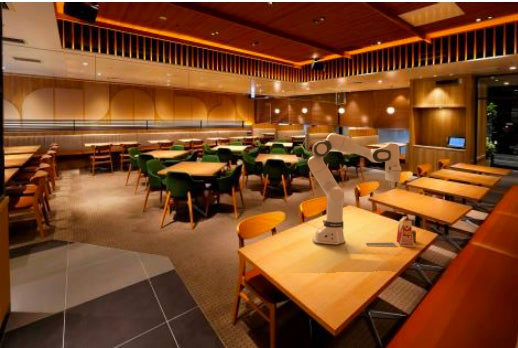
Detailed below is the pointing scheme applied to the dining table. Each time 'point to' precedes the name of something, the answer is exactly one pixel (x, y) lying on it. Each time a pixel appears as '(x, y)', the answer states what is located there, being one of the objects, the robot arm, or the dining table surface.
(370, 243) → the strip
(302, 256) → the dining table surface
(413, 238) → the walnut block
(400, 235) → the milk carton
